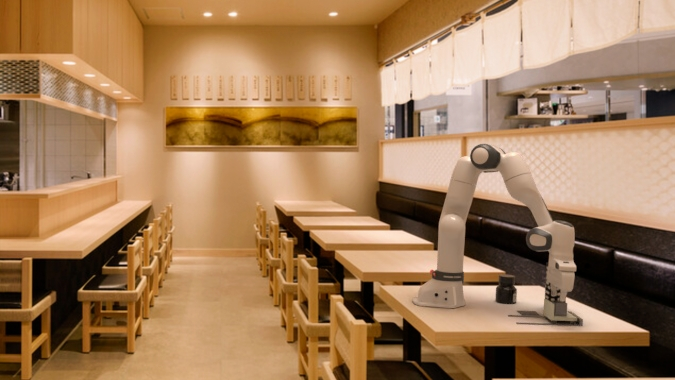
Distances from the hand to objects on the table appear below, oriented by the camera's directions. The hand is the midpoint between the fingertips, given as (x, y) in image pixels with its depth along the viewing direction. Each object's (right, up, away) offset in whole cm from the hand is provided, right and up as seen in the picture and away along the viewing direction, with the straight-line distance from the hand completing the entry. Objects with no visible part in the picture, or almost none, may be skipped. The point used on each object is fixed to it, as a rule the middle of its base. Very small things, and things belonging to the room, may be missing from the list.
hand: (557, 298), depth 250 cm
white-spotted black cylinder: (+5, -9, +20) cm, 22 cm away
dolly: (+1, -10, +1) cm, 10 cm away
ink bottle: (-12, -8, +32) cm, 35 cm away
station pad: (-8, -9, +13) cm, 17 cm away
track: (-6, -9, +1) cm, 11 cm away
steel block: (+1, -7, +1) cm, 7 cm away
